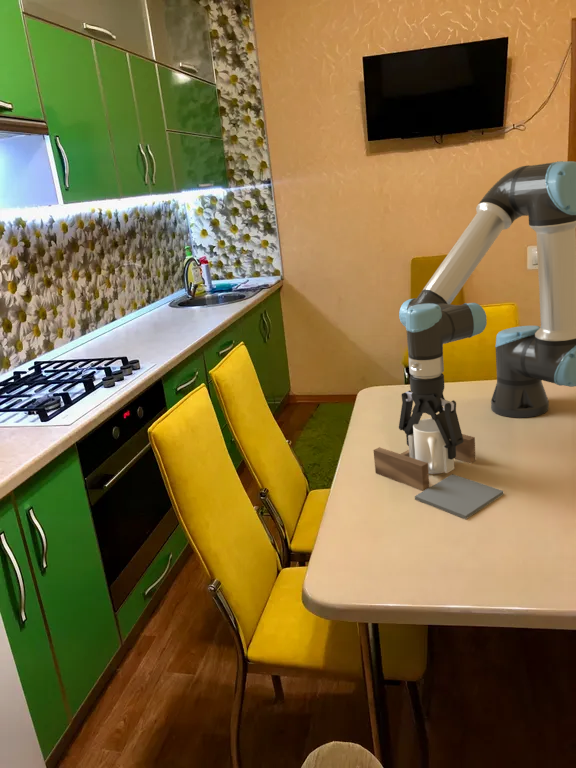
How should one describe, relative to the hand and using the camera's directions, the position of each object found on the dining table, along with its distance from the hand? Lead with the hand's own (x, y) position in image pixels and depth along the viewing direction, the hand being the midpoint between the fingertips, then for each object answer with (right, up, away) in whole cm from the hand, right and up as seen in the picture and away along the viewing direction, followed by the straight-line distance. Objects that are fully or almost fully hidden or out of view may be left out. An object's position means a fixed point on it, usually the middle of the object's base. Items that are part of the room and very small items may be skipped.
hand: (431, 464), depth 145 cm
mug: (+1, -1, 0) cm, 2 cm away
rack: (-1, -1, +2) cm, 2 cm away
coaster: (+3, -5, -13) cm, 15 cm away
